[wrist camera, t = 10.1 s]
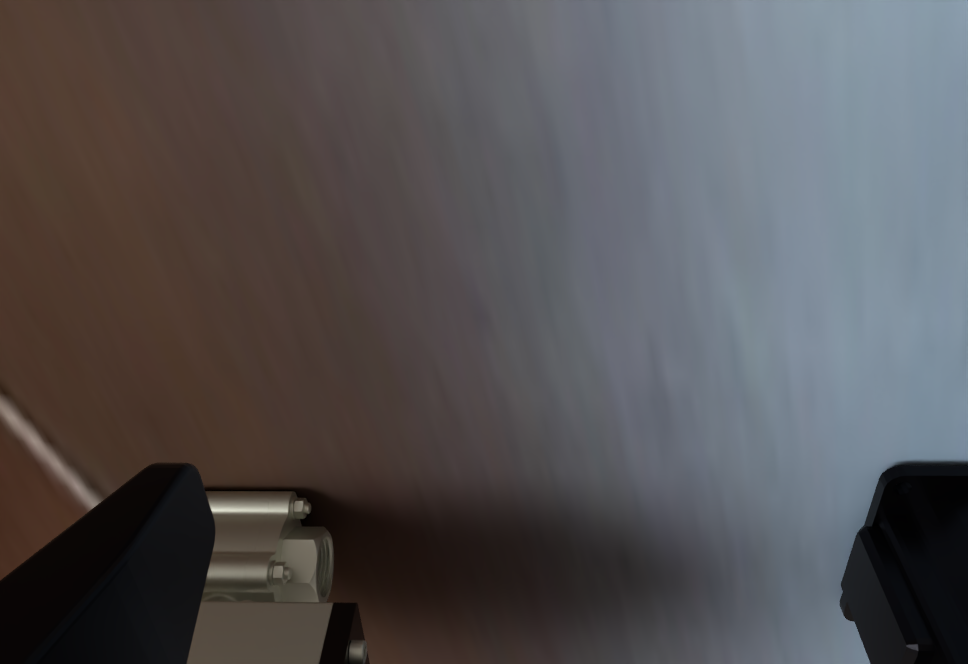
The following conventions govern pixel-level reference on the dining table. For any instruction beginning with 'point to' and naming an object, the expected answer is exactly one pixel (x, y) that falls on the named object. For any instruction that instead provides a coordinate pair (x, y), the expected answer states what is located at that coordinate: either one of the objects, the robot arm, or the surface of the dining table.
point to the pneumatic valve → (272, 588)
